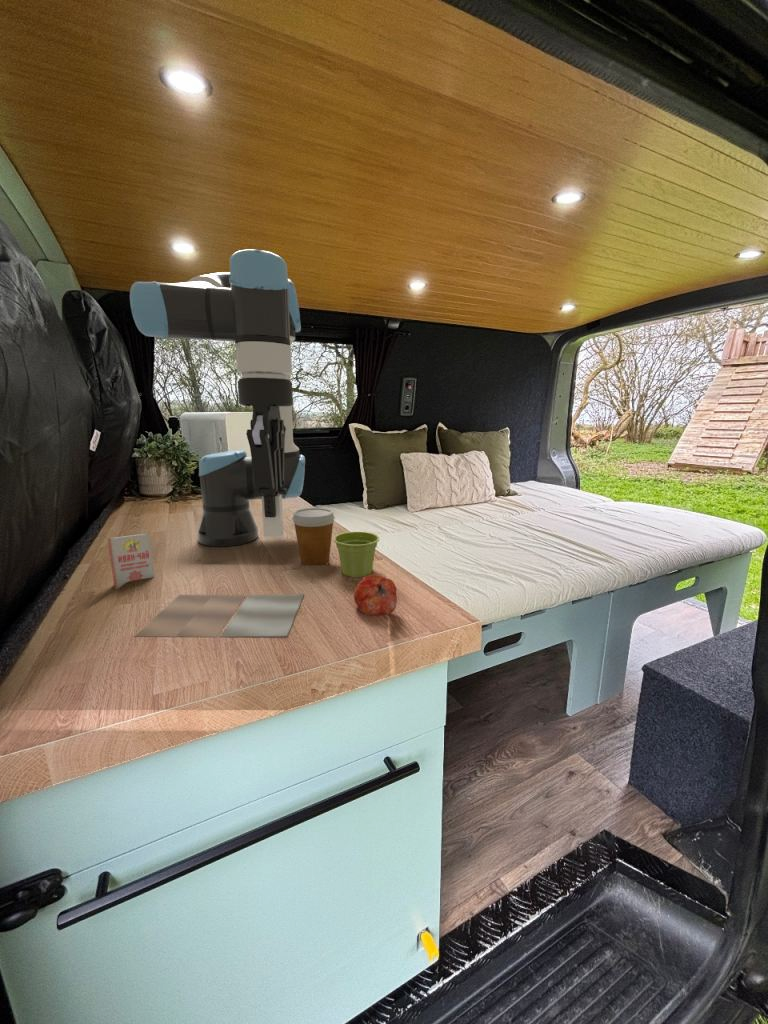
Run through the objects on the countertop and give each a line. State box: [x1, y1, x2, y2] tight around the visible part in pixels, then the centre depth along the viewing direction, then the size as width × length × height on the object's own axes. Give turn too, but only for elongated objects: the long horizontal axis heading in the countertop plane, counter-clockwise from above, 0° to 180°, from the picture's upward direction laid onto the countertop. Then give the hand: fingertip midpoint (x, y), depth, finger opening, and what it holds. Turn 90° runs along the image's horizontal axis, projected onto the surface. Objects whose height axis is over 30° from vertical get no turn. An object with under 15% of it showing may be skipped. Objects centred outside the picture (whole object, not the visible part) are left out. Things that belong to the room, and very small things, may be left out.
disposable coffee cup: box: [291, 507, 336, 566], centre depth 92 cm, size 10×10×12 cm
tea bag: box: [107, 533, 155, 591], centre depth 80 cm, size 4×7×10 cm, turn 122°
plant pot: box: [333, 531, 380, 578], centre depth 85 cm, size 9×9×9 cm
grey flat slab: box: [219, 593, 305, 638], centre depth 67 cm, size 14×10×1 cm
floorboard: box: [134, 594, 247, 638], centre depth 67 cm, size 14×12×1 cm
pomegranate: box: [353, 573, 398, 616], centre depth 70 cm, size 7×7×10 cm
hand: (273, 534), depth 64 cm, fingers closed
